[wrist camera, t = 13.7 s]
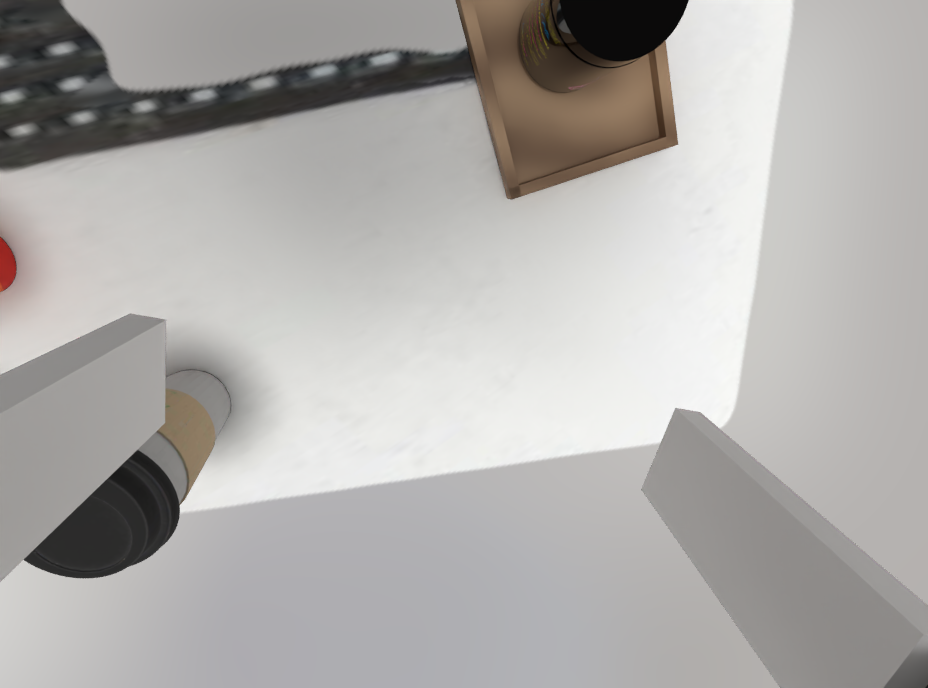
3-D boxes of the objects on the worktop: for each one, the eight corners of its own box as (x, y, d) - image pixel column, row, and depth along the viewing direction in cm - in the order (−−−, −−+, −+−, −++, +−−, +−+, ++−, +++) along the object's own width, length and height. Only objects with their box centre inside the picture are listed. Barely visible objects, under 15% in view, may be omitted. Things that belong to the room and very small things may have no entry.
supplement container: (542, 114, 33) (592, 89, 23) (497, 18, 31) (533, -54, 21) (624, 62, 32) (712, 14, 23) (586, -40, 30) (664, -143, 20)
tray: (434, -80, 29) (435, -96, 28) (627, -147, 29) (640, -167, 27) (507, 198, 36) (511, 199, 34) (665, 146, 35) (678, 144, 34)
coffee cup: (196, 329, 37) (61, 421, 23) (276, 411, 40) (198, 536, 26) (112, 390, 38) (-66, 513, 24) (195, 465, 42) (80, 613, 27)
